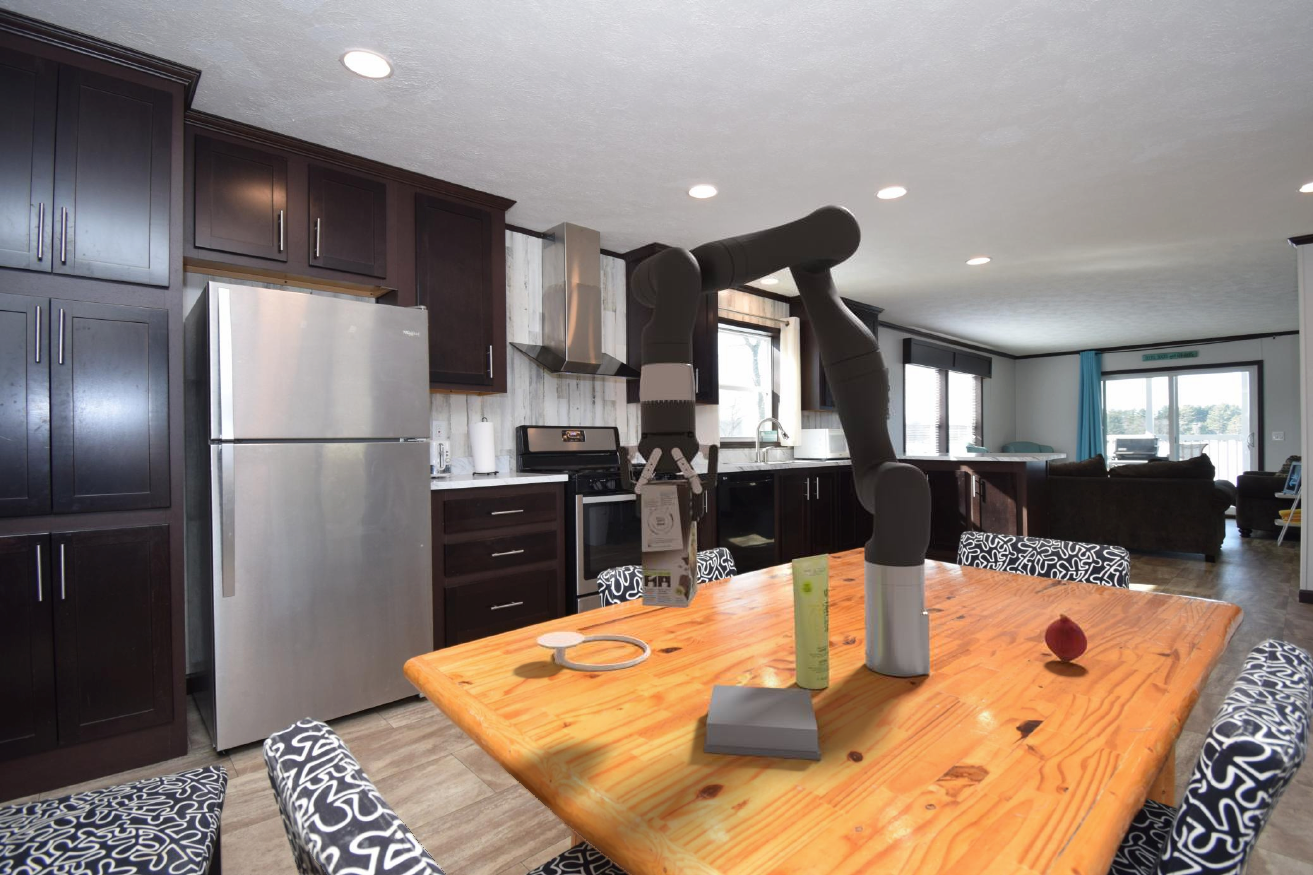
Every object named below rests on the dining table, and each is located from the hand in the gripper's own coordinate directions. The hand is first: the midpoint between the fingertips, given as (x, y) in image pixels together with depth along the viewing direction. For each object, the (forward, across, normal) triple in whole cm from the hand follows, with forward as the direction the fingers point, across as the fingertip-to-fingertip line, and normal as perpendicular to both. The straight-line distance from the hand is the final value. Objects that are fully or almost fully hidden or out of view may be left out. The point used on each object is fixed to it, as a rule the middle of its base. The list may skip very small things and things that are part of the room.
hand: (669, 520), depth 88 cm
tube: (+27, -19, -13) cm, 36 cm away
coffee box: (+11, 0, 0) cm, 11 cm away
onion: (+27, -61, -28) cm, 73 cm away
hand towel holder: (+27, +17, -21) cm, 38 cm away
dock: (+26, -12, +4) cm, 29 cm away
